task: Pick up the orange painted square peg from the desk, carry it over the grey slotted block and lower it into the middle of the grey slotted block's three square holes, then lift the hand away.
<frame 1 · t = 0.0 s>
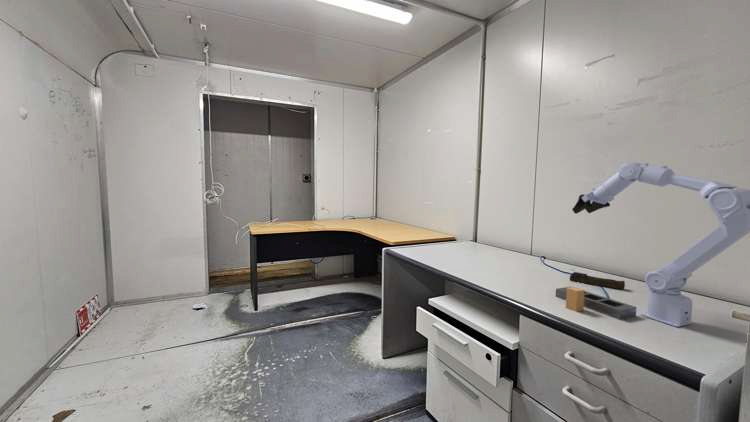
hand: (580, 211, 118), 32 cm above the table, tool tilted 50°, fingers open, 7 cm apart
hand tool: (595, 286, 128), on the table
peg: (574, 309, 102), on the table
grey slotted block: (592, 305, 105), on the table
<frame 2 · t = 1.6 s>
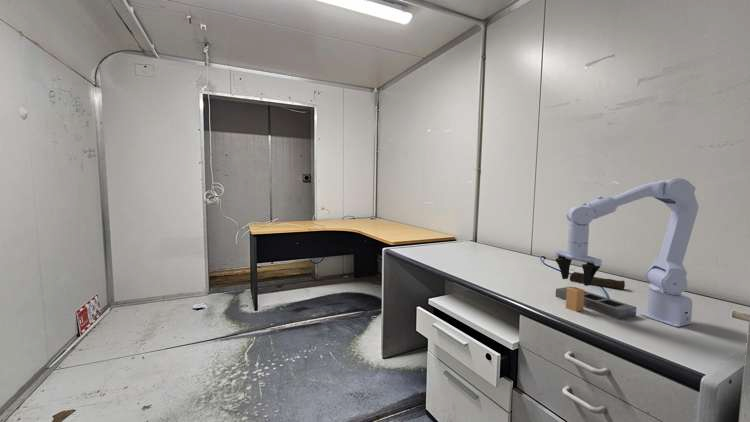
hand: (575, 281, 101), 9 cm above the table, tool pointing down, fingers open, 7 cm apart
nothing on the table moved.
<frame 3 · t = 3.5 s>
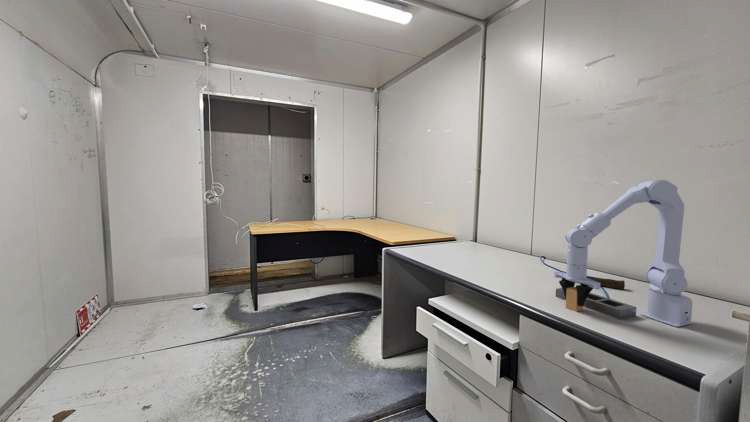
hand: (574, 303, 102), 2 cm above the table, tool pointing down, fingers closed on peg, 4 cm apart
peg: (574, 308, 102), on the table, touching gripper
everything else where it was.
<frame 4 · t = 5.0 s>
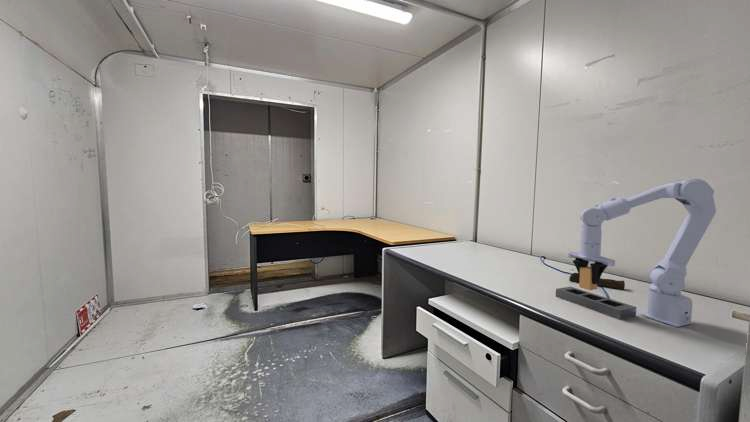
hand: (588, 281, 104), 9 cm above the table, tool pointing down, fingers closed on peg, 4 cm apart
peg: (587, 288, 104), point 7 cm above the table, touching gripper
everything else where it was.
when the fingers open (4 cm above the table, at t = 7.0 s): peg drops 2 cm, resting in grey slotted block.
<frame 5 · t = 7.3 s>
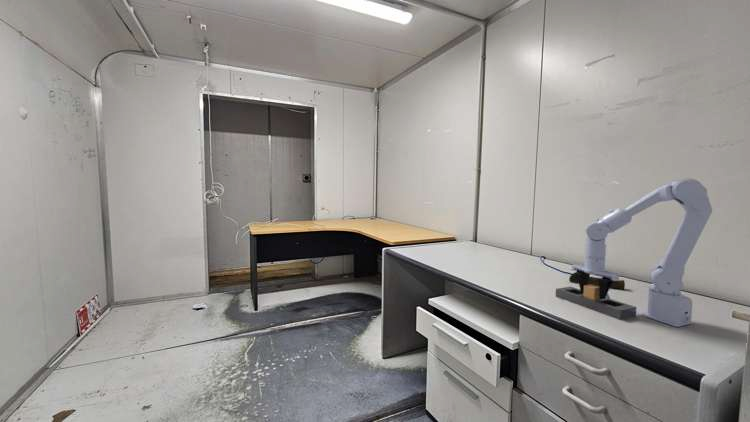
hand: (592, 295, 105), 4 cm above the table, tool pointing down, fingers open, 6 cm apart
peg: (591, 305, 105), resting in grey slotted block
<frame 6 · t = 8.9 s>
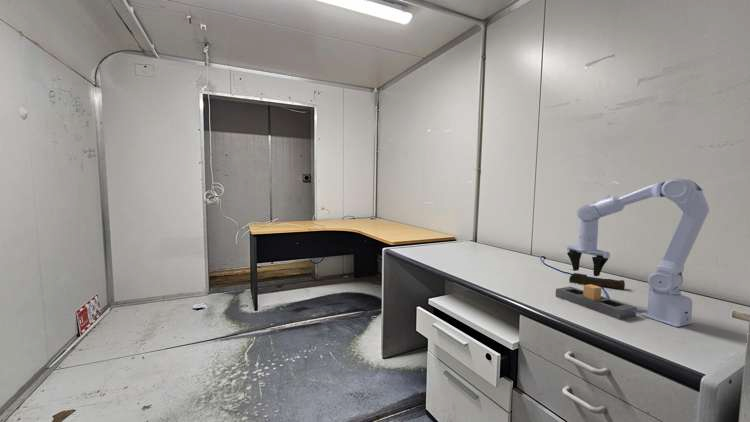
hand: (585, 273, 112), 9 cm above the table, tool pointing down, fingers open, 7 cm apart
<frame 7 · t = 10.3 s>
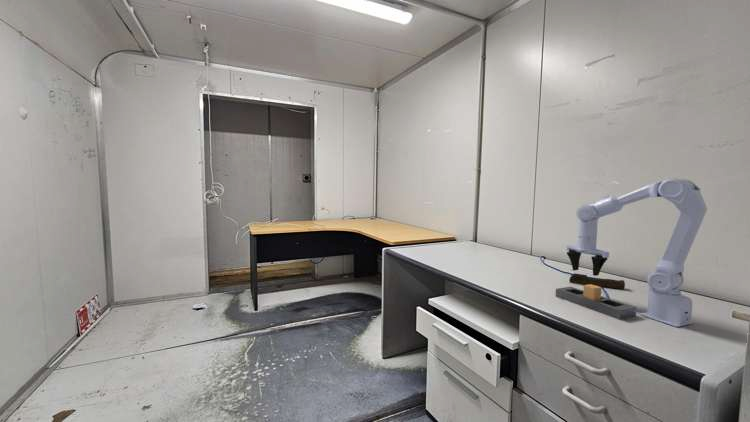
hand: (585, 272, 113), 9 cm above the table, tool pointing down, fingers open, 7 cm apart
at the end: peg 0.4 cm off-centre on the grey slotted block, point 0.0 cm above the grey slotted block's base; peg tilted 0°; the gripper is holding nothing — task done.
